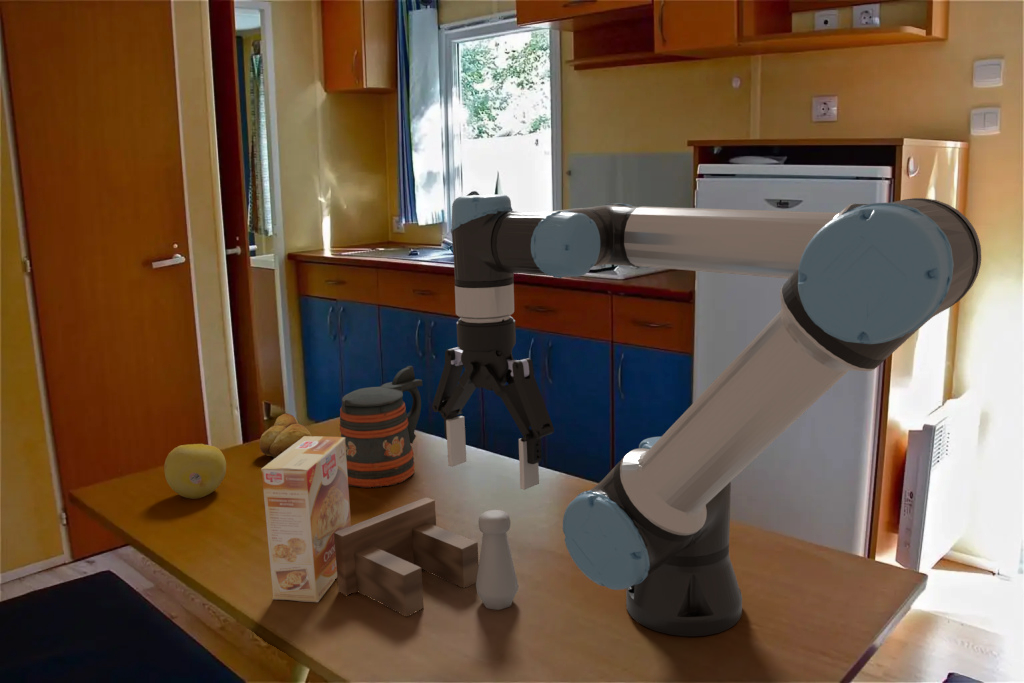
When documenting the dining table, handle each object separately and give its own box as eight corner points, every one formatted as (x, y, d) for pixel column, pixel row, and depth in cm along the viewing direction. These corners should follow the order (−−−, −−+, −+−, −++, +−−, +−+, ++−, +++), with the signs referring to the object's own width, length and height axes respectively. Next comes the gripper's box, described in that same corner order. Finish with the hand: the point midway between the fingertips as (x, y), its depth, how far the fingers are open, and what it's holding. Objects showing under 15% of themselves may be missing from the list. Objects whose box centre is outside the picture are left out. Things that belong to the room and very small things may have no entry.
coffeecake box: (318, 603, 123) (307, 469, 119) (270, 600, 124) (258, 468, 120) (356, 556, 137) (347, 435, 133) (312, 554, 138) (302, 434, 134)
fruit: (235, 495, 164) (230, 444, 162) (175, 509, 158) (169, 456, 156) (219, 480, 173) (214, 431, 171) (161, 493, 167) (155, 442, 165)
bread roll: (326, 456, 185) (323, 419, 183) (286, 469, 178) (282, 431, 176) (292, 444, 194) (289, 409, 192) (252, 456, 187) (248, 419, 185)
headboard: (487, 576, 129) (485, 518, 127) (396, 622, 117) (392, 558, 115) (429, 551, 138) (426, 497, 136) (338, 591, 126) (333, 532, 124)
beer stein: (393, 452, 186) (387, 359, 182) (445, 464, 177) (440, 367, 173) (323, 479, 171) (315, 378, 167) (376, 494, 162) (369, 389, 158)
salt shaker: (498, 588, 125) (495, 501, 123) (527, 601, 121) (524, 512, 119) (467, 603, 121) (463, 514, 119) (496, 617, 117) (493, 525, 115)
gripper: (579, 322, 107) (582, 487, 112) (442, 304, 124) (450, 448, 129) (537, 332, 102) (543, 505, 106) (400, 312, 119) (410, 462, 123)
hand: (492, 474), depth 118 cm, fingers open, 13 cm apart
